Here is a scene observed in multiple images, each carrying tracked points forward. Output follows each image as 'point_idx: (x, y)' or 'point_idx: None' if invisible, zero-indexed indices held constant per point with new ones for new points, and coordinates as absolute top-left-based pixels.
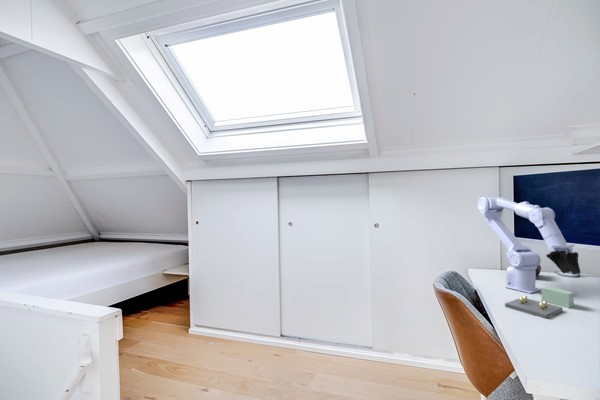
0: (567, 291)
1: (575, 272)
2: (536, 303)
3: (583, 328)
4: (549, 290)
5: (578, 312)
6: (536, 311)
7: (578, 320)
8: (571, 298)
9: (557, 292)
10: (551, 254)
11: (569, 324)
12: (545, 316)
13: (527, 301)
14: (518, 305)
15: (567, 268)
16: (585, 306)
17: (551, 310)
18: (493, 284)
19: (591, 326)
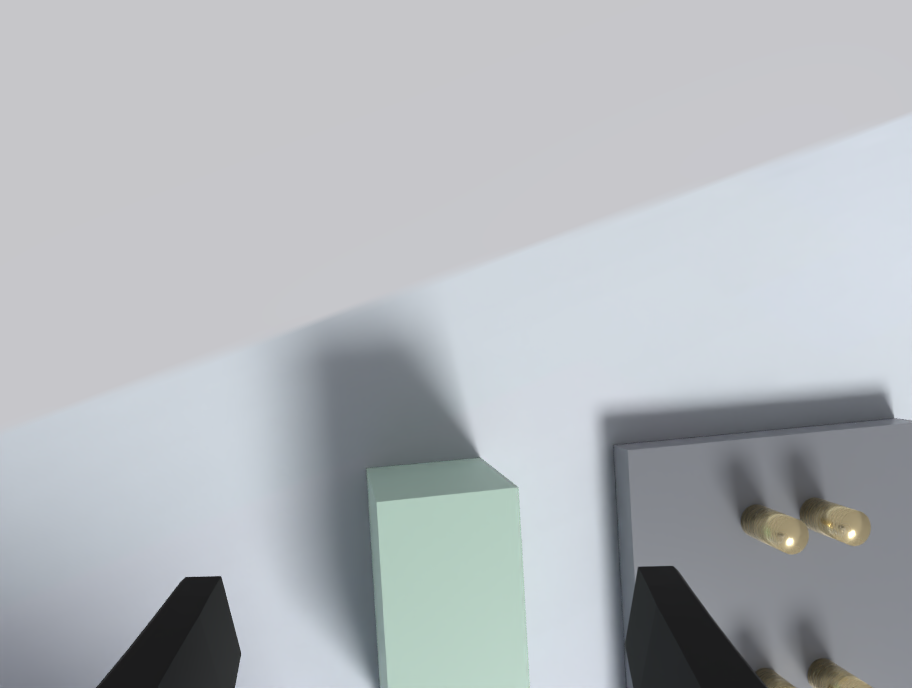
0: (409, 552)
1: (225, 643)
2: (716, 616)
3: (864, 193)
4: (525, 679)
5: (529, 361)
6: (909, 496)
7: (731, 278)
8: (434, 480)
9: (522, 595)
10: None
11: (868, 276)
12: (908, 421)
13: None
14: (893, 650)
15: (703, 626)
16: (276, 407)
17: (787, 453)
18: None
19: (779, 178)
